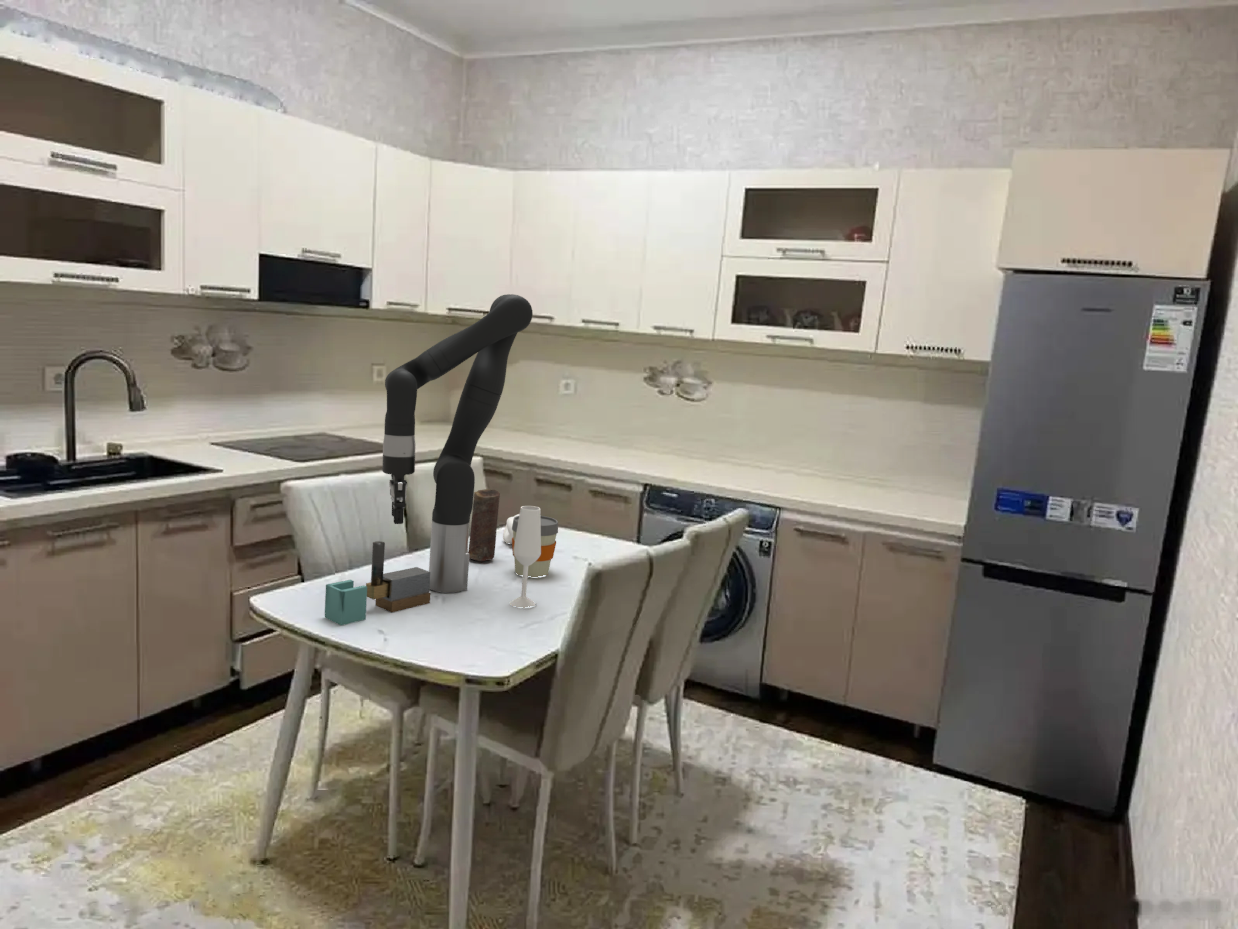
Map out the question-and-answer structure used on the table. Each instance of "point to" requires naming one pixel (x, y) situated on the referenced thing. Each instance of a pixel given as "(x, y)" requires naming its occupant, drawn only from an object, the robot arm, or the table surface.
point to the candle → (484, 525)
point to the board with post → (378, 573)
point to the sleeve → (406, 589)
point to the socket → (345, 602)
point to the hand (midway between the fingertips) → (397, 519)
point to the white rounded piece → (509, 530)
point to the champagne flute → (527, 547)
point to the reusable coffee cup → (547, 547)
